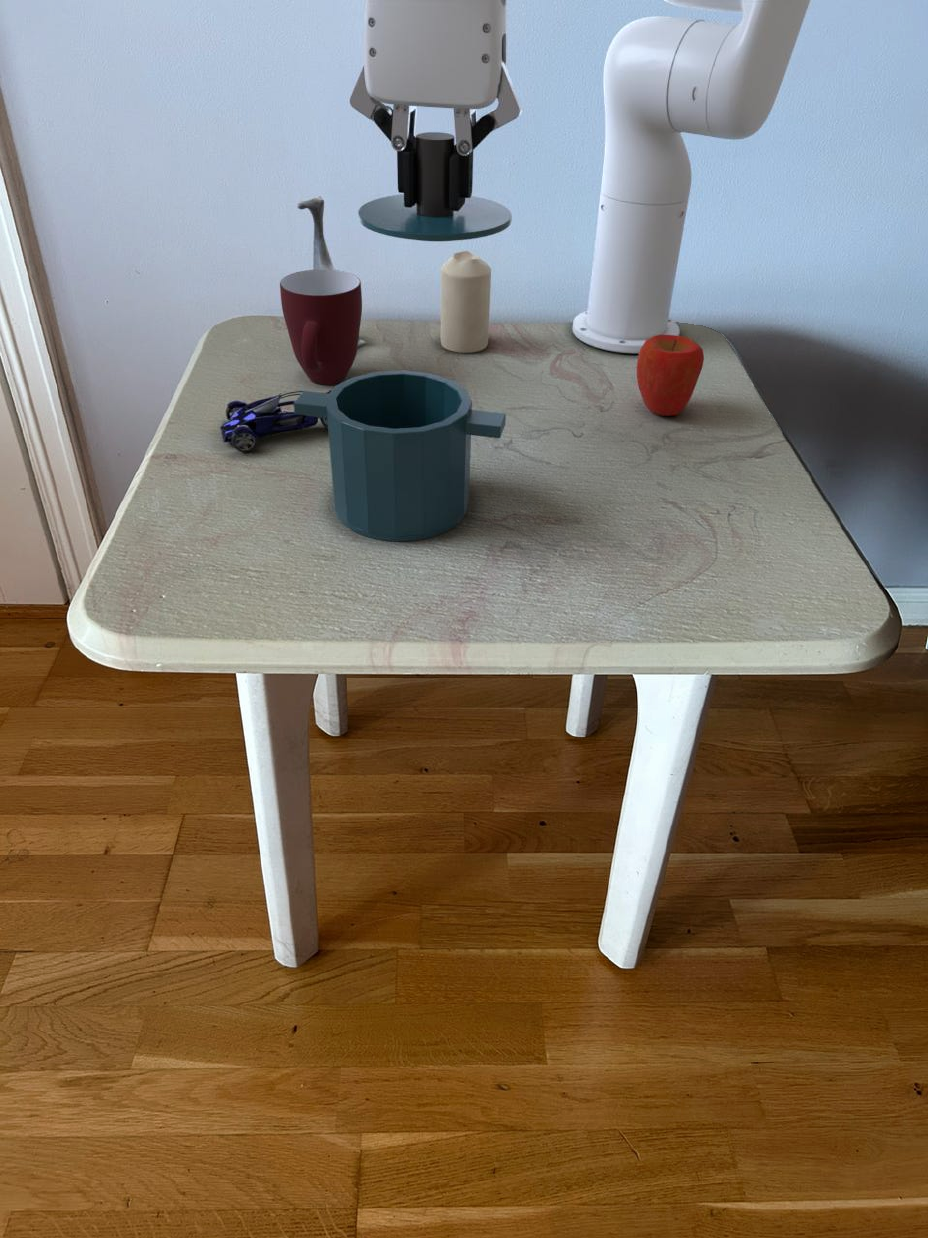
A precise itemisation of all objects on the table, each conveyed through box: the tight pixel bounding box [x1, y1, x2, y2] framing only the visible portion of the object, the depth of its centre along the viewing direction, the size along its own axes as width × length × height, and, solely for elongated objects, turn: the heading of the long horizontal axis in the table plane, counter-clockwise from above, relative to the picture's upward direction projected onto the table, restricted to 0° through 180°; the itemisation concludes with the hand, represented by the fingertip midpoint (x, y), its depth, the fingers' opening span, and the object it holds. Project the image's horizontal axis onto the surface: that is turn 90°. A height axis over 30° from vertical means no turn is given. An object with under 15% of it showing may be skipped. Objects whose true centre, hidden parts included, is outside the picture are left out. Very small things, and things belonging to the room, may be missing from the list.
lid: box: [357, 131, 513, 242], centre depth 71 cm, size 12×12×7 cm
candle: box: [440, 250, 492, 354], centre depth 100 cm, size 6×6×10 cm
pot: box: [293, 370, 507, 542], centre depth 73 cm, size 11×17×10 cm
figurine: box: [296, 196, 366, 349], centre depth 98 cm, size 11×6×15 cm, turn 14°
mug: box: [279, 269, 363, 385], centre depth 91 cm, size 11×8×10 cm
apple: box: [636, 335, 705, 417], centre depth 89 cm, size 6×6×8 cm
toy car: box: [219, 389, 332, 453], centre depth 84 cm, size 12×6×4 cm, turn 107°
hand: (435, 202), depth 72 cm, fingers closed on lid, 3 cm apart
